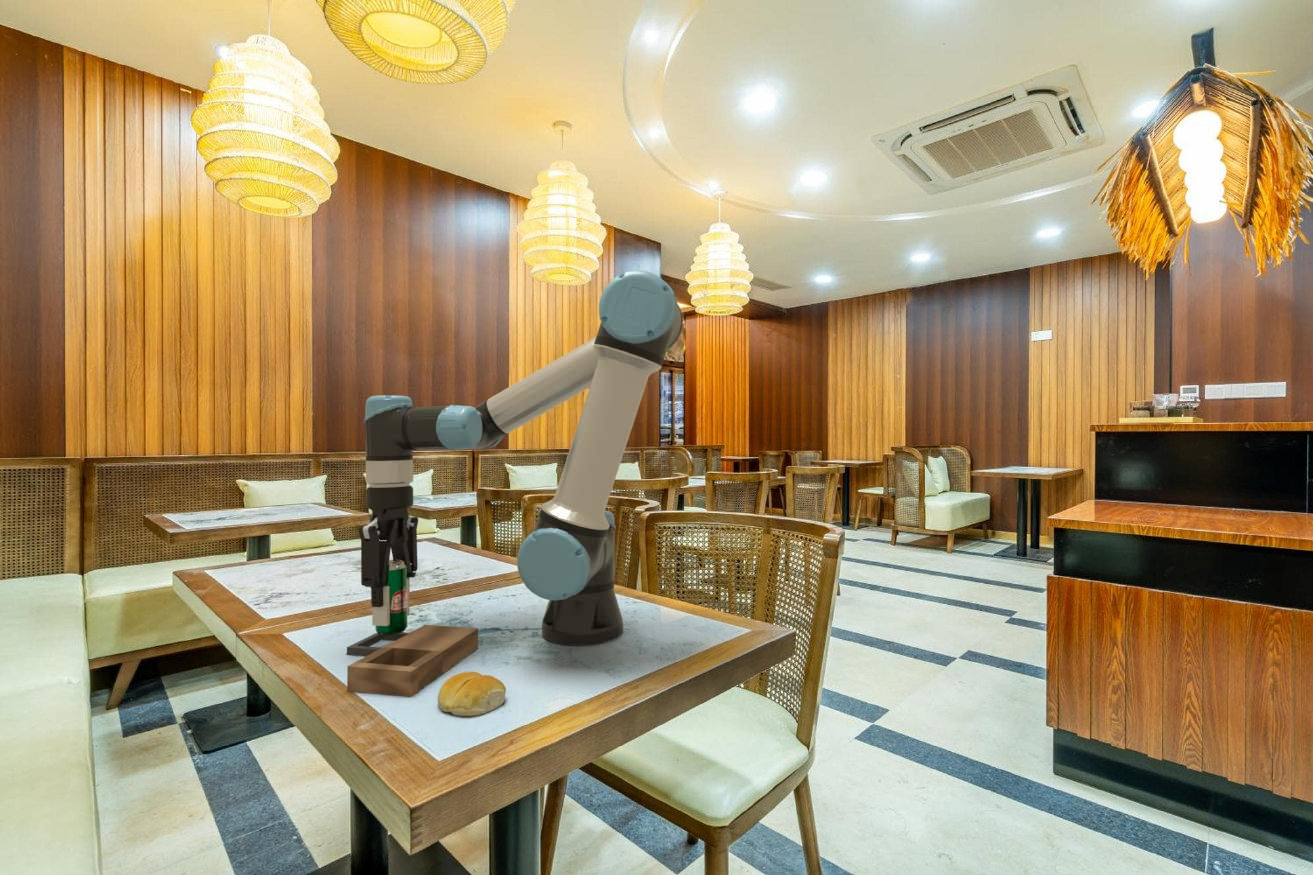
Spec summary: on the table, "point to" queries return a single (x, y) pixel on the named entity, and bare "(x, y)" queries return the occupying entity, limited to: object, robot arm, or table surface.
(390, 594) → the soda can
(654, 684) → the table surface
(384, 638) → the dark square frame
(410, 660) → the caddy
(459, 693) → the bread roll
